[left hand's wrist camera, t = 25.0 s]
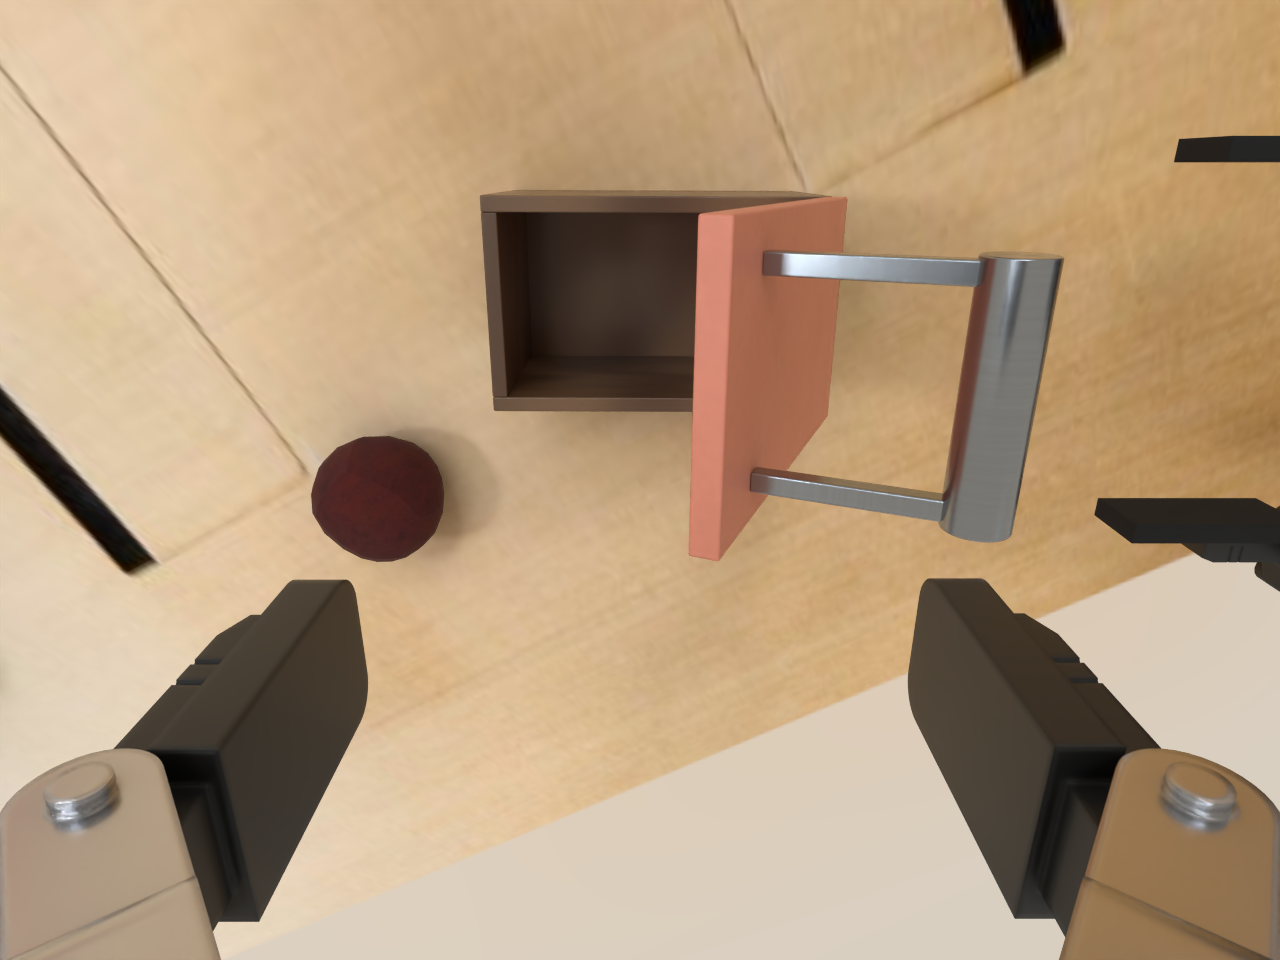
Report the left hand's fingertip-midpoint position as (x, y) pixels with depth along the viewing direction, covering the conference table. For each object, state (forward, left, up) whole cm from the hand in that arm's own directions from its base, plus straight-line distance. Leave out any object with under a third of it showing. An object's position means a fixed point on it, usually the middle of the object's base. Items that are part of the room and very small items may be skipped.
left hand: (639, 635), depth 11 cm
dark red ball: (+19, -4, -38) cm, 43 cm away
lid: (-3, +4, -20) cm, 21 cm away
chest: (-1, 0, -38) cm, 38 cm away
